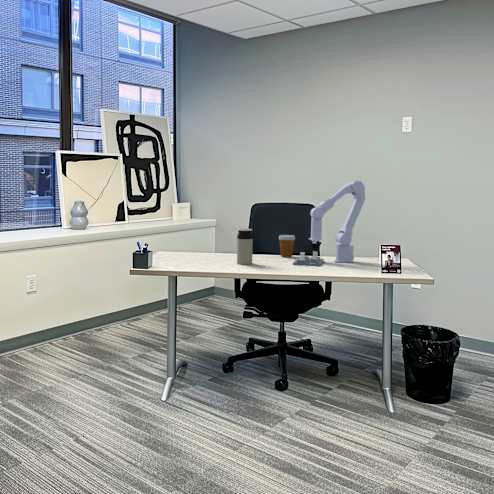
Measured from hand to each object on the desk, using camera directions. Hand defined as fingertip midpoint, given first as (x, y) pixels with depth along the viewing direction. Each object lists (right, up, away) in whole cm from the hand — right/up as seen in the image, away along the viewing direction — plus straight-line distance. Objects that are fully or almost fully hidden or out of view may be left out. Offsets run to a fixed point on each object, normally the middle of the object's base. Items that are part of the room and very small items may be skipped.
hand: (315, 255), depth 302 cm
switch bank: (-4, -4, -4) cm, 7 cm away
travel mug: (-38, -4, -8) cm, 39 cm away
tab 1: (-8, -3, -7) cm, 11 cm away
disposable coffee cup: (-14, -1, +18) cm, 23 cm away
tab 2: (-1, -2, -2) cm, 3 cm away
